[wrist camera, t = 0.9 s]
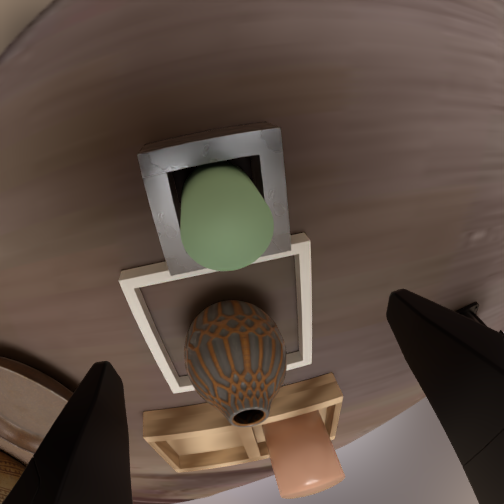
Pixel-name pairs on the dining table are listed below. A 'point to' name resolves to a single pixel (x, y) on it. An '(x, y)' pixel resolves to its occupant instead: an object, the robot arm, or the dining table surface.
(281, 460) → the block
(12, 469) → the ceramic vessel
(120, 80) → the dining table surface
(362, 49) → the dining table surface
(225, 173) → the button
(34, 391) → the plant saucer
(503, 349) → the robot arm
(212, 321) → the vase
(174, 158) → the button housing
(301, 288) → the white square frame
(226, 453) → the pallet
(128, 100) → the dining table surface
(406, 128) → the dining table surface
